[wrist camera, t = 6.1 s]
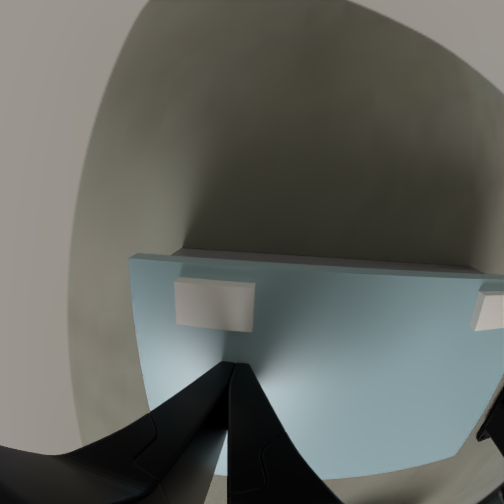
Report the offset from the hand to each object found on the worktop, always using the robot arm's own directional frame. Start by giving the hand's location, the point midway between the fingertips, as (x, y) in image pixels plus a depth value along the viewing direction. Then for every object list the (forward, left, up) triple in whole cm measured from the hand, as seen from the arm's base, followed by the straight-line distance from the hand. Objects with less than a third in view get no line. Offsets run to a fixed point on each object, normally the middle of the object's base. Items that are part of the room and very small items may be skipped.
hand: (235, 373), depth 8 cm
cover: (-4, +1, -1) cm, 4 cm away
